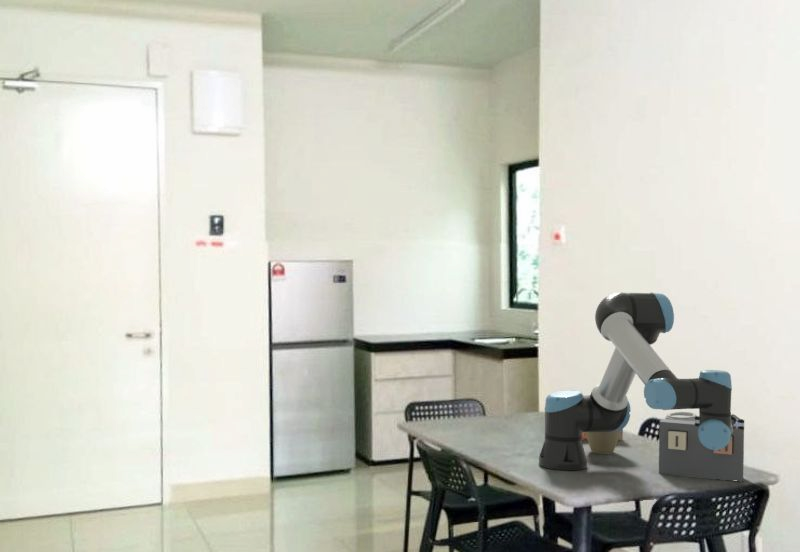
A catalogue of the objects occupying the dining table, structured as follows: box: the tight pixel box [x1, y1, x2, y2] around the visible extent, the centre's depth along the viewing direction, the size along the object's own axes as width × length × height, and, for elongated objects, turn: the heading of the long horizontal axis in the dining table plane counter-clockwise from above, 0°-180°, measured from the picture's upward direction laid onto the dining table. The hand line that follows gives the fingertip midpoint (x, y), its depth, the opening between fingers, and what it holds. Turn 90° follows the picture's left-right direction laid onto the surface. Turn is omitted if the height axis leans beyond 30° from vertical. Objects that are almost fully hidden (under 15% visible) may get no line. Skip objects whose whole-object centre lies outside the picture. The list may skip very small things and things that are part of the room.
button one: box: [668, 431, 687, 450], centre depth 252 cm, size 3×5×5 cm, turn 66°
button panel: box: [658, 418, 745, 482], centre depth 253 cm, size 6×24×16 cm, turn 66°
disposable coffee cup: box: [664, 411, 698, 421], centre depth 278 cm, size 11×11×15 cm
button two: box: [714, 436, 732, 455], centre depth 246 cm, size 3×5×5 cm, turn 66°
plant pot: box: [585, 430, 620, 455], centre depth 286 cm, size 15×15×16 cm
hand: (722, 414), depth 239 cm, fingers closed
